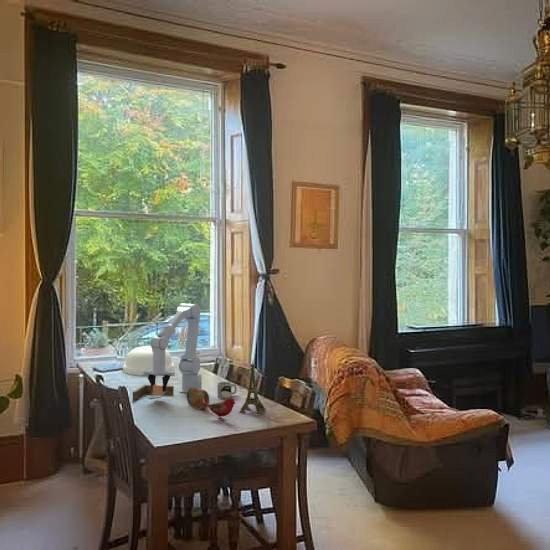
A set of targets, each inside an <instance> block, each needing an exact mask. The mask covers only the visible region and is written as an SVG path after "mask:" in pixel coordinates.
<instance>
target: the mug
mask: <svg viewBox="0 0 550 550" xmlns="http://www.w3.org/2000/svg"><path fill="white" fill-rule="evenodd" d="M232 387H233V388H234V391H232ZM237 391H238V389H237V384H235V383H232V382H230V381H220V382H217V396H216V397H217V398H218V399H222V400H223V399H224V400H226V399H228V398H232V396H233V395H235V394H236V393H237Z"/></svg>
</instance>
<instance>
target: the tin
mask: <svg viewBox="0 0 550 550" xmlns="http://www.w3.org/2000/svg"><path fill="white" fill-rule="evenodd" d="M209 395H210V394H209V393H208V391H206V390H204V389H203V388H201V389H199V388H190V389H189V390H188V392H187V393H186V399H187V404H188V405H189V406H190V405H191V406H190V407H192V406H193V407H192V408H195V409H198V410H205V409H207V408H209V407H208V406H206V405H204V404H203V403H201V402H204V403H207V404H210V397H209Z"/></svg>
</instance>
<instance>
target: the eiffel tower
mask: <svg viewBox="0 0 550 550" xmlns="http://www.w3.org/2000/svg"><path fill="white" fill-rule="evenodd" d="M249 367H250V374H249V375H250V377H249V382H248V383H249V384H248V388H247V390H246V391H247V396H246V398H245V402H244V404H243V405H242V407H241V408H240V410H239V411H238V413H242V414H241V415H245V414H244V413H246V410H248V409H249V405H253V406H255V411H256V412H255V415H256V414H260V415H259V416H263V415H264V412H262V411H265V410H266V407H265V406H264V403H262V402H261V400H260V397H259V396H258V389H259V388H258V387H257V381H256V375H255V374H256V372H255V367H256V363H254V360H252V362H251V363H250V365H249ZM251 394H253V396H252V395H251ZM264 409H265V410H264Z"/></svg>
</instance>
